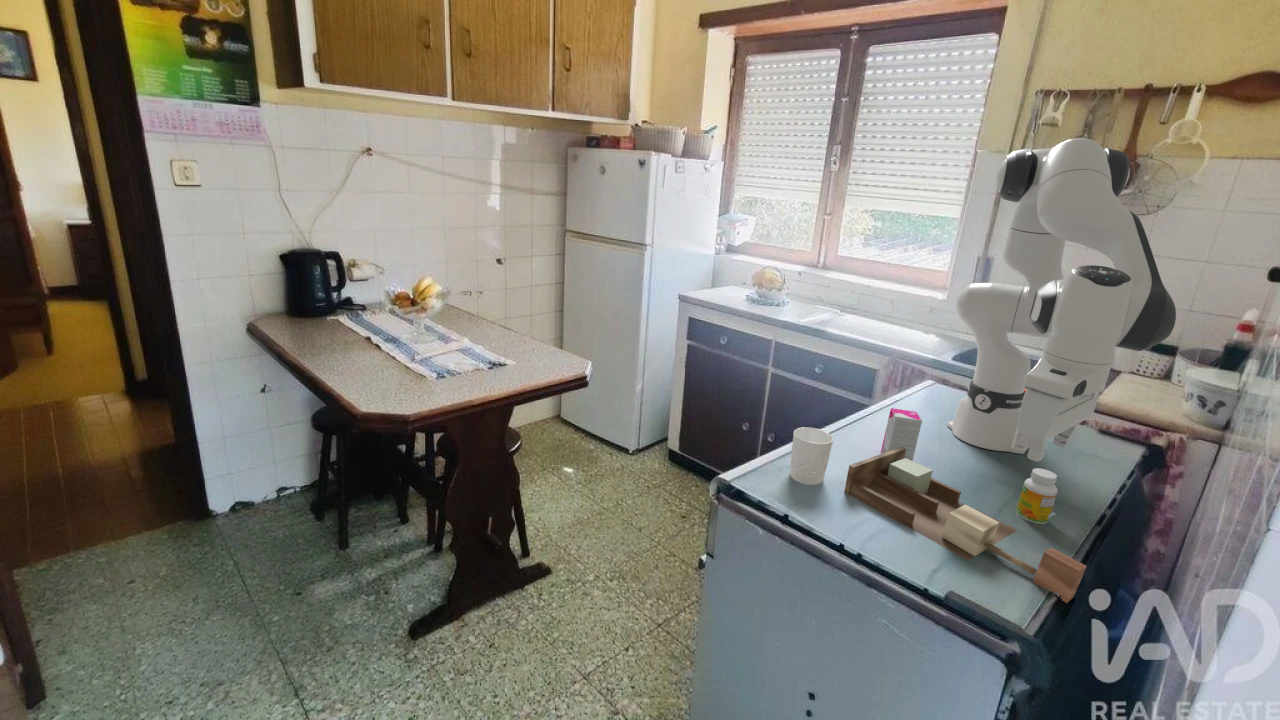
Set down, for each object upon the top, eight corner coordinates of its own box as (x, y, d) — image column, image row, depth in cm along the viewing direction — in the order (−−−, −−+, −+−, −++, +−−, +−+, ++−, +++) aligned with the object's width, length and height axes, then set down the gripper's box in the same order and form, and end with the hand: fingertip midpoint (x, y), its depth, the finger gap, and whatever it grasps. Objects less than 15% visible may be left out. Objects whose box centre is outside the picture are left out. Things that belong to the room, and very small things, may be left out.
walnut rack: (896, 473, 129) (901, 446, 127) (1017, 531, 110) (1026, 501, 108) (843, 493, 119) (849, 465, 117) (967, 562, 100) (976, 529, 98)
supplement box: (912, 467, 133) (922, 420, 129) (884, 463, 134) (894, 416, 130) (906, 456, 138) (916, 410, 135) (879, 452, 139) (889, 407, 136)
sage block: (901, 479, 126) (905, 457, 125) (927, 492, 121) (932, 470, 120) (885, 485, 123) (890, 463, 121) (912, 498, 118) (917, 476, 117)
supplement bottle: (1009, 509, 118) (1021, 465, 115) (1034, 510, 118) (1047, 466, 115) (1028, 525, 112) (1042, 479, 109) (1054, 525, 113) (1069, 480, 110)
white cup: (804, 491, 119) (812, 446, 116) (779, 473, 126) (785, 430, 123) (833, 484, 123) (841, 440, 120) (807, 467, 130) (814, 425, 127)
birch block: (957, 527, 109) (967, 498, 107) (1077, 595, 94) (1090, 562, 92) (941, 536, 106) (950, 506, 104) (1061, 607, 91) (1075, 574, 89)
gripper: (1076, 356, 100) (1053, 430, 105) (1020, 377, 89) (997, 459, 94) (1120, 367, 96) (1095, 444, 100) (1067, 391, 84) (1041, 477, 89)
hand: (1047, 451), depth 97 cm, fingers open, 8 cm apart
